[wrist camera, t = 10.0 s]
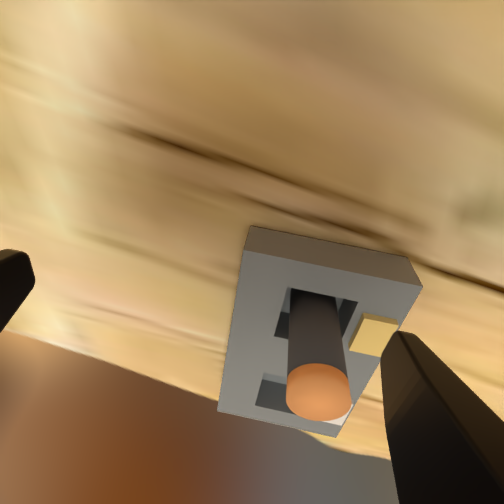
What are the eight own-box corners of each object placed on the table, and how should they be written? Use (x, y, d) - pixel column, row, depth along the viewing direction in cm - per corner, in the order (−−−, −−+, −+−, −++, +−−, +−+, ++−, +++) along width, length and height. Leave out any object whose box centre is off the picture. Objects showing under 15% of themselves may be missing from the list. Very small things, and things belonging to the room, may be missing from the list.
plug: (340, 281, 20) (360, 390, 14) (327, 314, 22) (340, 426, 15) (295, 272, 21) (293, 376, 14) (286, 306, 22) (280, 413, 15)
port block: (407, 257, 19) (426, 292, 16) (332, 403, 28) (336, 444, 25) (250, 225, 20) (241, 254, 17) (224, 379, 28) (215, 416, 25)
